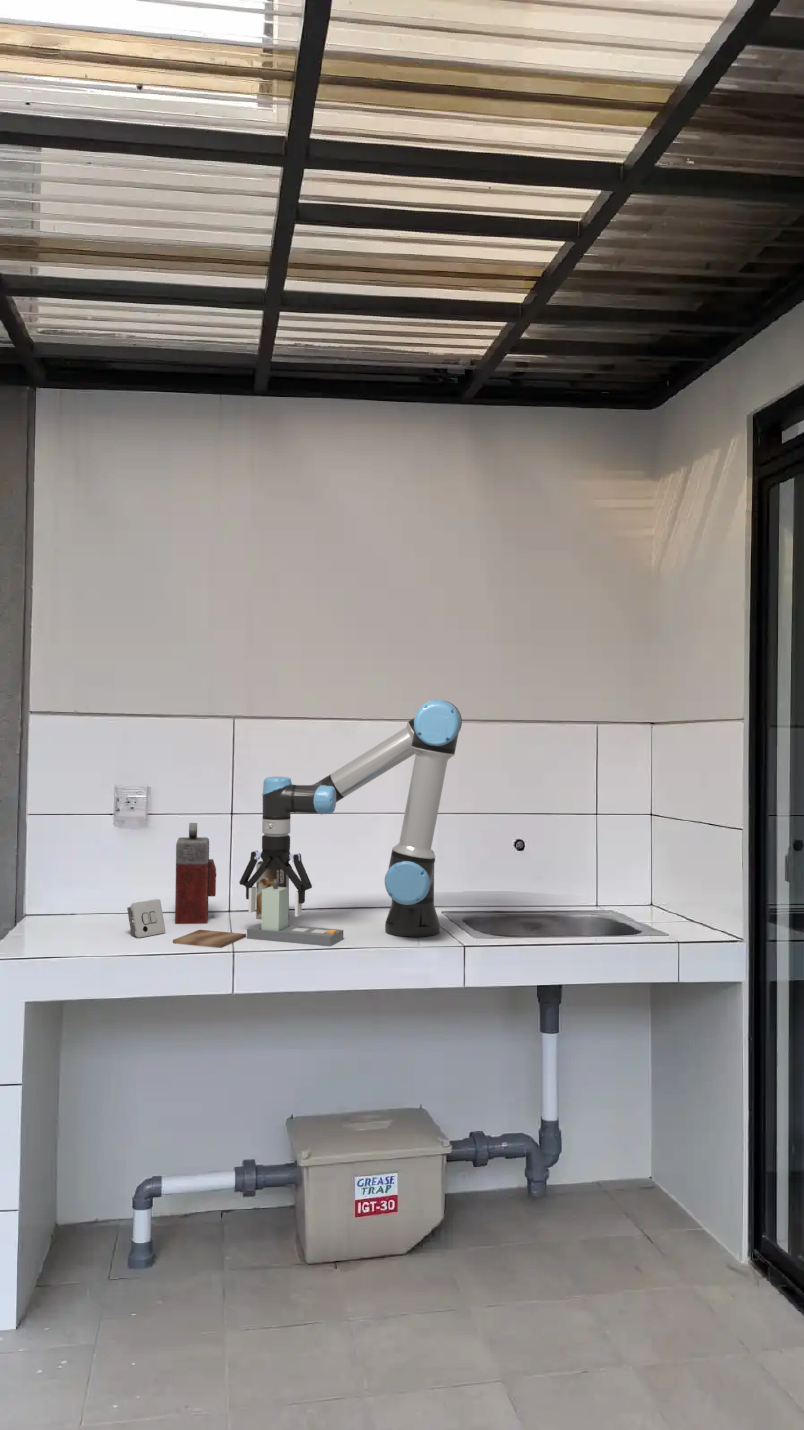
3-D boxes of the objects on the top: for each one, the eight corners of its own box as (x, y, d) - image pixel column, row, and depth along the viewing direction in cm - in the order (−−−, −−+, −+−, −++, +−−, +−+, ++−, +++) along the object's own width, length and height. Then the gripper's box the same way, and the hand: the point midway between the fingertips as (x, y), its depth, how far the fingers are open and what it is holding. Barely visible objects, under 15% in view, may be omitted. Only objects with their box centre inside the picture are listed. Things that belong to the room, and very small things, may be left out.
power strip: (343, 939, 291) (343, 928, 291) (330, 946, 283) (330, 934, 283) (261, 931, 299) (261, 920, 299) (246, 938, 290) (247, 927, 290)
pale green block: (287, 935, 295) (288, 878, 294) (278, 940, 289) (279, 882, 289) (271, 934, 296) (271, 877, 296) (261, 938, 291) (262, 880, 290)
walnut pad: (246, 936, 292) (246, 933, 292) (221, 947, 279) (221, 944, 279) (199, 932, 296) (199, 929, 296) (172, 943, 283) (172, 939, 283)
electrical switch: (137, 939, 288) (136, 903, 288) (125, 938, 291) (124, 903, 291) (166, 933, 295) (164, 899, 295) (154, 932, 298) (152, 898, 299)
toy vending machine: (215, 923, 309) (216, 824, 309) (175, 923, 307) (176, 824, 307) (216, 917, 318) (217, 821, 318) (176, 917, 316) (178, 821, 316)
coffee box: (289, 915, 322) (290, 861, 322) (286, 919, 316) (287, 864, 316) (258, 914, 323) (259, 860, 322) (255, 919, 316) (255, 863, 316)
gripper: (227, 833, 293) (226, 912, 293) (313, 838, 285) (312, 919, 285) (240, 830, 300) (239, 907, 300) (324, 835, 292) (323, 914, 292)
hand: (275, 913), depth 293 cm, fingers open, 13 cm apart
